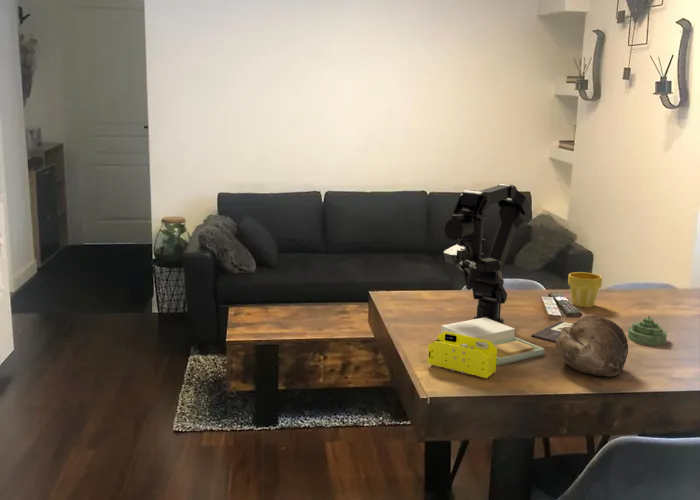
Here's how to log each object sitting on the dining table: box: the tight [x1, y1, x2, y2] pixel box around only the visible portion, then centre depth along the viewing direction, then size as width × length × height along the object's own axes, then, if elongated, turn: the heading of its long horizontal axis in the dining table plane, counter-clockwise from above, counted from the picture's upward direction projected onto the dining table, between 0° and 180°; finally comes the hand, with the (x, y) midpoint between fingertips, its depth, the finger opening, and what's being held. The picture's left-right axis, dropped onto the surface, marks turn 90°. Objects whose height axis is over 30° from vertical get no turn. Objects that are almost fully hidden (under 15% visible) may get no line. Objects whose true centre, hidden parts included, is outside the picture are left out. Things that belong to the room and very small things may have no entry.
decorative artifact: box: [627, 315, 668, 346], centre depth 212 cm, size 10×7×10 cm
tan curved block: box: [495, 341, 534, 358], centre depth 197 cm, size 9×6×2 cm, turn 123°
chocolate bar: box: [530, 321, 573, 344], centre depth 217 cm, size 9×1×18 cm
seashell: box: [554, 313, 629, 378], centre depth 189 cm, size 16×17×15 cm
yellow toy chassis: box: [427, 331, 497, 379], centre depth 185 cm, size 16×6×8 cm, turn 55°
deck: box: [440, 317, 516, 343], centre depth 208 cm, size 16×12×4 cm
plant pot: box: [567, 271, 603, 308], centre depth 245 cm, size 10×10×10 cm
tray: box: [482, 336, 545, 366], centre depth 199 cm, size 16×11×2 cm
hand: (469, 289), depth 215 cm, fingers closed
